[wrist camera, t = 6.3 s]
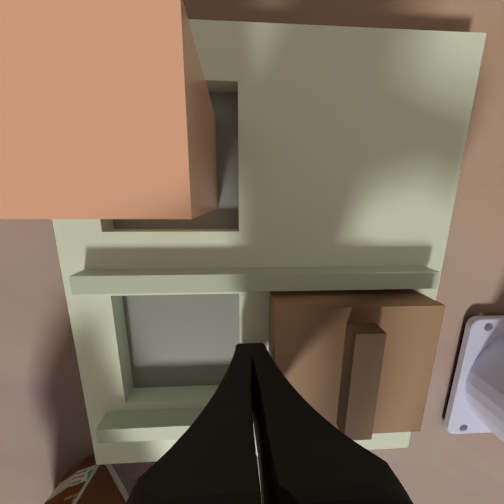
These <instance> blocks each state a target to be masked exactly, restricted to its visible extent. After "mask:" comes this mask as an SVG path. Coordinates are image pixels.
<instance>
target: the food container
mask: <svg viewBox="0 0 504 504" xmlns="http://www.w3.org/2000/svg"><path fill="white" fill-rule="evenodd" d="M128 498H129V495H128V493H127V491H126V489H125V488H124V486H123V484H122V482H121V480H120V478H119V477H118V475H117V473H116V471H115V469H114V467H113V466H112V464H102V465H96V460H95V455H93V456H90V457H87V458H86V459H85V460H83V461H82V462H80V463H79V464H77V465H76V466H74V467H73V468H71V469H70V470H69V471H68V472H67V474H66V475H65V476H64V478H63V479H62V480H61V482H60V483H59V485H58V486H57V487H56V489H55V490H54V491H53V493H52V494H51V496H50V497H49V498H48V500H47V501H46V502H45V504H126V502H127V500H128Z"/></svg>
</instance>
